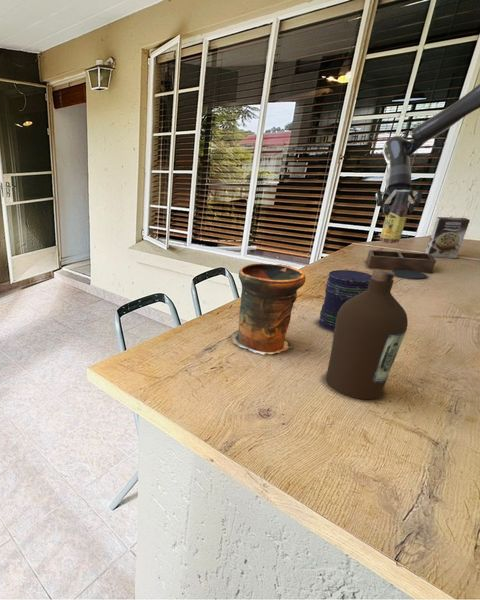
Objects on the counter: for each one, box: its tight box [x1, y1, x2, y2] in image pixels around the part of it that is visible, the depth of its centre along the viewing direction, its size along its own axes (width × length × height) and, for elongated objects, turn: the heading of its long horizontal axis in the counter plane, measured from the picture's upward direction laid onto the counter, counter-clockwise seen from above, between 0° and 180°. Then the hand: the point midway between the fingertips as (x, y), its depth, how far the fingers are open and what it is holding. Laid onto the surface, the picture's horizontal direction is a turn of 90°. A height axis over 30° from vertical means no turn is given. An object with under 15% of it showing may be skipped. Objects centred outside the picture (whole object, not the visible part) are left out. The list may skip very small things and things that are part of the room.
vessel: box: [231, 262, 307, 356], centre depth 88 cm, size 14×14×20 cm
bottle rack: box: [366, 249, 437, 274], centre depth 140 cm, size 19×11×5 cm, turn 56°
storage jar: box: [318, 269, 372, 333], centre depth 95 cm, size 10×10×15 cm
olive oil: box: [325, 269, 409, 400], centre depth 68 cm, size 11×11×25 cm
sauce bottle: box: [379, 190, 411, 244], centre depth 136 cm, size 6×6×20 cm
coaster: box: [390, 270, 428, 280], centre depth 131 cm, size 10×10×1 cm
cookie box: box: [425, 216, 471, 259], centre depth 148 cm, size 9×6×16 cm
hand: (398, 213), depth 134 cm, fingers closed on sauce bottle, 6 cm apart
